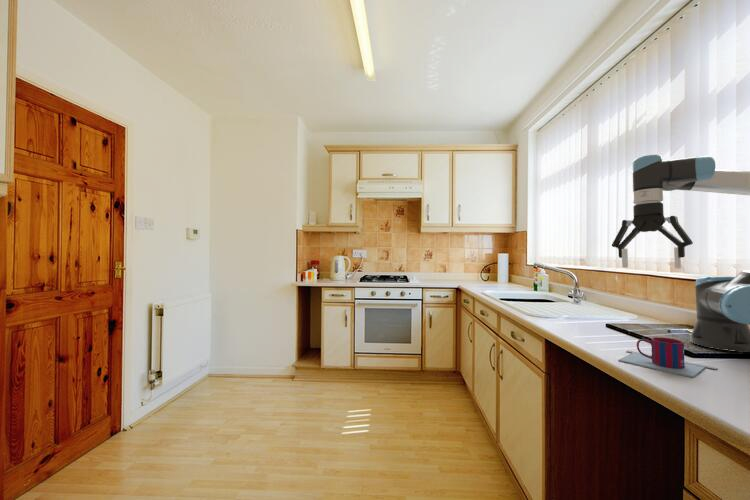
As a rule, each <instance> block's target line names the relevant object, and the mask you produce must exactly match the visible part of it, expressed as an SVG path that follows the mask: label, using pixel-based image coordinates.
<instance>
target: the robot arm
mask: <svg viewBox="0 0 750 500" xmlns="http://www.w3.org/2000/svg"><path fill="white" fill-rule="evenodd" d="M631 164H632V166H631V167H632V168H631V178H632V179H631V180H632V203H633V204H634V205H633V206H632V208H633V209H632V210H633V213H632V214H633V219H631V220H630V219H629V220H628V219H622V221H621V227H620V228H619V231H618V232H617V234H616V235H615V237H614V240H613V241H612V243H611V247H612V248H616V249H617V250H618V258H621V266H622V267H621V268H623V269H625V268H629V259H628V258H629V257H628V256H629V255H628V248H626V247H628V245H629V244H630V242H632V240H633V239H634V238H636V236H637V235H638V234H640V233H648V232H657V231H658V232H660V233H661V234H662V235H664V237H666V238H667V239H668V240H669V241H671V242H672V243H673V244H674V245H676V247H674V248H673V251H674V252H673V253H674V254H673V255H674V269H682V265H681V264H682V263H681V262H682V261H681V259H683V258H685V257H686V253H685V252H686V250H685V249H686V248H685V247H687V246H691V245H693V243H694V241H693V240H692V239H691V238H690V236H689V235H688V233H687V232H686V231H685V230H684V228H683V227H682V226H681V224H680V223H679V220H678V216H676V215H671V216H668V217H665V216H664V214H665V213H664V203H663V202H662V201H664V192H671V191H677V190H678V191H692V192H702V193H703V192H704V193H716V194H717V193H718V194H727V195H731V194H732V195H737V196H738V195H740V196H741V195H743V196H750V170H732V169H718V168H717V169H716V161H715V158H714V157H713V156H710V155H703V156H702V155H701V156H698V155H697V156H692V157H686V158H685V157H682V158H678V159H676V158H675V159H669V160H667V159H666V160H665V159H664V160H663V158H662V155H661V154H647V155H641V156H639V157H637V158H635V159H634V160H632V163H631ZM666 222H667V223H668V224H671V227H673V229H674V231H676V233H677V235H678V236H679V237H680V239H681V240H680V239H679V238H678V237H677V236H676V235H674V234H673V233H671V232H670V231H669V230H668V229H667V228H666V227H665V226H663V225H664V224H665V223H666ZM632 225H633V226H634V228H633V229H632V230H631V232H629V234H628V235H627V236H626V237H625V235H626V233H627V231H628V229H629V227H632ZM624 237H625V238H624ZM623 238H624V239H623ZM694 289H695V304H696V322H695V324H694V327H693V330H692V331H691V333H690V336H689V337H690V338H689V339H690V343H691V342H692V343H691V344H693V343H694V344H693V345H695V344H697V345H696V346H698V345H701V346H706V347H713V348H719V349H728V350H735V351H747V352H750V326H749V325H750V269H746V270H741V271H740V272H739V273H737V274H736V275H735V276H702V277H701V276H700V277H698V278H696V280H695V285H694ZM701 346H700V347H701Z"/></svg>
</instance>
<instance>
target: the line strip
mask: <svg viewBox="0 0 750 500" xmlns="http://www.w3.org/2000/svg"><path fill="white" fill-rule="evenodd" d="M625 353H629V354H631V353H636V354H641V353H640V352H639V351H633V350H629V349H628V350H626V352H625ZM645 354H646V355H648V356H652V354H649V353H645ZM641 355H642V354H641ZM684 363H686V364H691V365H696V366H701V367H705V369H709V370H715V371H717V370H718V369H719V368H718V367H716V366H709V365H705V364H700V363H694V362H689V361H685V360H684Z"/></svg>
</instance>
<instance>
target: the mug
mask: <svg viewBox="0 0 750 500" xmlns="http://www.w3.org/2000/svg"><path fill="white" fill-rule="evenodd" d="M643 341H644V342H647V343H649V344H650V345H651V355H652V356H648V355H646V354H647V353H644V352H642V350H641V349H640V343H641V342H643ZM636 349H637V352H639V353H641V354H642V355H643V356H645V357H647V358H650V359H652V362H653V363H654V364H656V365H658V366H662V367H667V368H674V369H682V368H684V367H685V363H684V361H685V342H684V341H682V340H680V339H676V338H670V337H660V336H657V337H651V340H649V339H645V338H640V339H638V340H637V342H636Z"/></svg>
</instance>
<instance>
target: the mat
mask: <svg viewBox="0 0 750 500" xmlns="http://www.w3.org/2000/svg"><path fill="white" fill-rule="evenodd" d="M617 361H618V362H620V361H621V362H622V363H625V364H630V365H634V366H638V365H639V367H643V366H644V368H647V367H648V369H652V370H656V371H661V372H665V373H670V374H675V375H679V376H683V377H689V378H693V379H694V378H695V377H696V376H697V375H699V374H700V373H701V372H703V371H704V370H705V369H706V368H705V367H701V366H696V365H691V364H686V363H685V367H684V368H682V369H674V368H667V367H662V366H658V365H656V364H654V363H653V362H652V359H650V358H647V357H645V356H643V355H641V354H636V353H629V354H627V355H625V356H623V357H621V358H619V359H618V360H617Z"/></svg>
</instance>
